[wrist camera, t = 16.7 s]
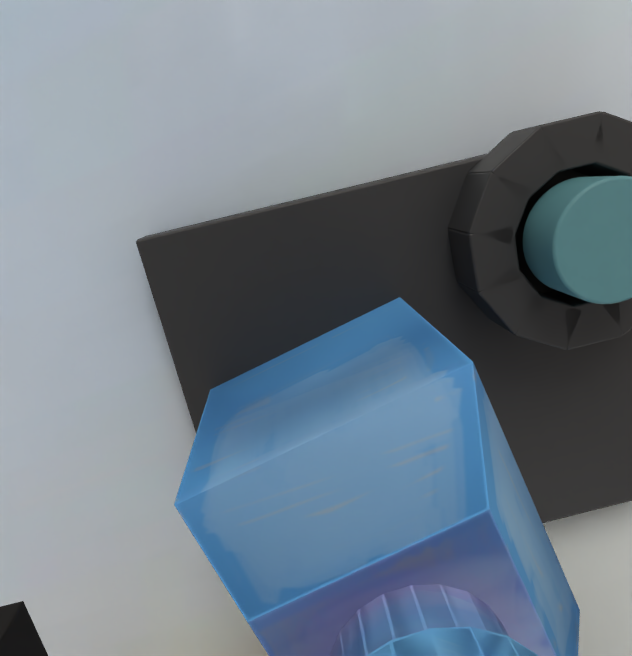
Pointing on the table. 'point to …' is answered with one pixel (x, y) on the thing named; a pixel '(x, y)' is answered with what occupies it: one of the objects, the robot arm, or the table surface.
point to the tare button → (583, 238)
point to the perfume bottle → (374, 503)
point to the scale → (427, 297)
